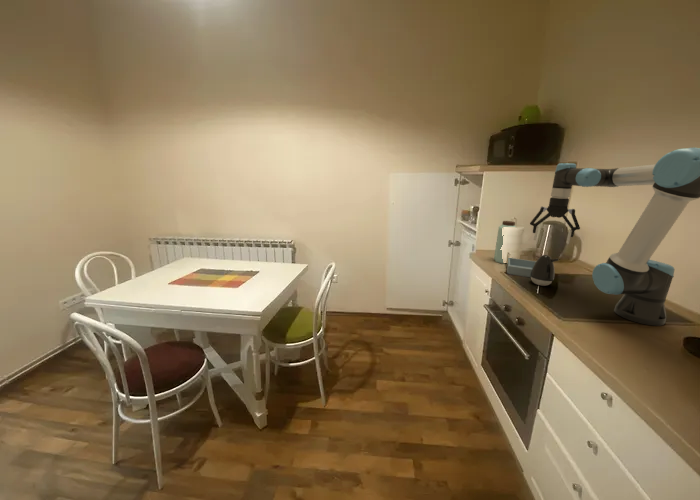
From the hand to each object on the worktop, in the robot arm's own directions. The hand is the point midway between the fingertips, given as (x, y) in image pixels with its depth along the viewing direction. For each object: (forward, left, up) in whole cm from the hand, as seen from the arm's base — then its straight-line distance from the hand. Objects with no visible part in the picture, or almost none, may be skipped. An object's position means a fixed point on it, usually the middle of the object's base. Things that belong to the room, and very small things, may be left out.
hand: (550, 241), depth 152 cm
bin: (+17, +7, -22) cm, 28 cm away
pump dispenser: (-1, +1, -22) cm, 22 cm away
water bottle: (+32, +19, -22) cm, 43 cm away
